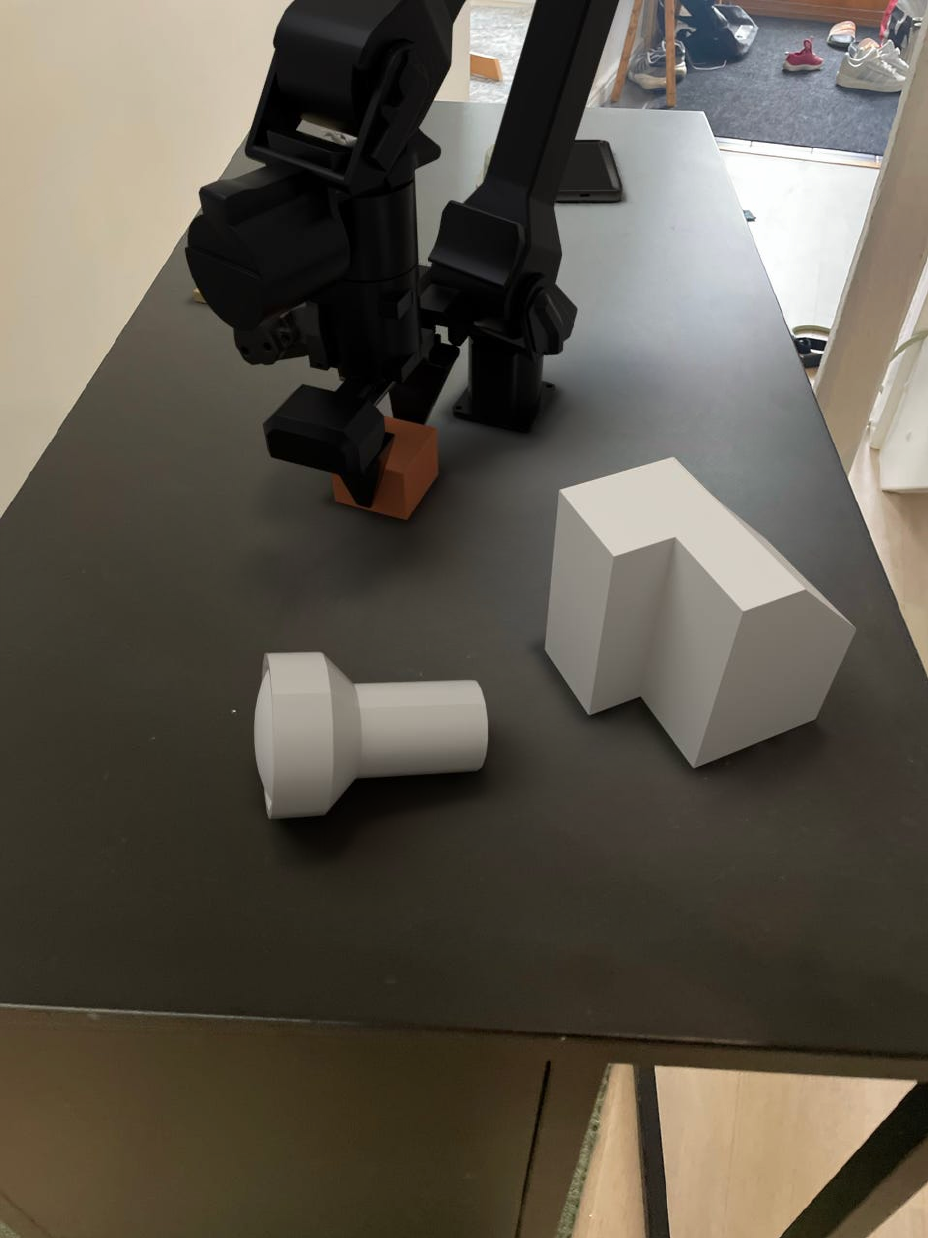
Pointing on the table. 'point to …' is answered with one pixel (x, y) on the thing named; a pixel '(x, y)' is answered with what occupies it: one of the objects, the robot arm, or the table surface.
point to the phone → (590, 174)
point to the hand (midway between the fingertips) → (386, 476)
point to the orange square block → (401, 470)
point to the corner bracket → (685, 613)
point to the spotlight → (356, 731)
